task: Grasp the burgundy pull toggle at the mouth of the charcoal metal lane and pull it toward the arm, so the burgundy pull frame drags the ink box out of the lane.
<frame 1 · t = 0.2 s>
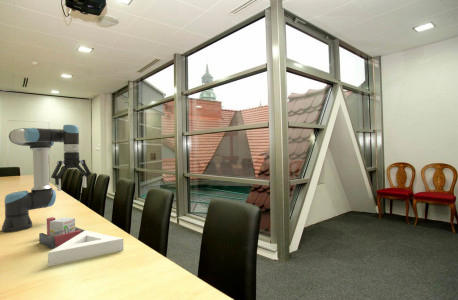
hand: (72, 189, 146), 27 cm above the table, tool pointing down, fingers open, 13 cm apart
pull frame: (58, 229, 141), point 5 cm above the table, slide at 0.1 cm, touching ink box
ink box: (63, 241, 138), resting in pull frame
lane rails: (63, 241, 138), on the table
triangle block: (86, 250, 127), on the table
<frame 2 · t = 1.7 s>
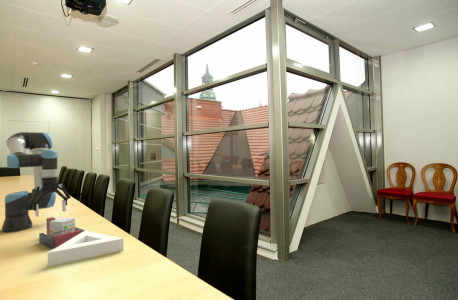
hand: (51, 213, 147), 13 cm above the table, tool pointing down, fingers open, 13 cm apart
nothing on the table moved.
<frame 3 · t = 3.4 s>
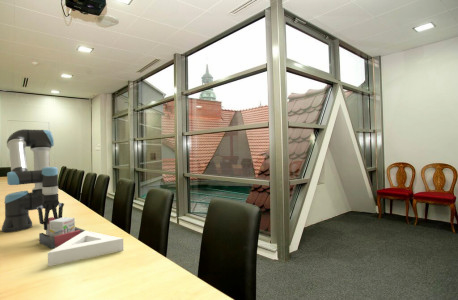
hand: (51, 234, 147), 1 cm above the table, tool pointing down, fingers closed on pull frame, 3 cm apart
pull frame: (58, 229, 142), point 5 cm above the table, slide at 0.6 cm, touching gripper, ink box
everything else where it was.
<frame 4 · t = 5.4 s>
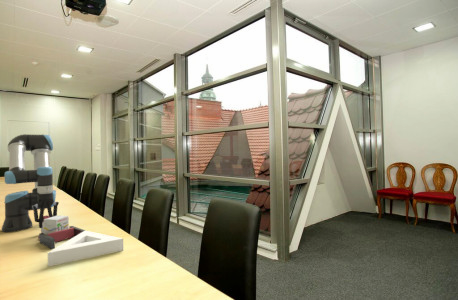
hand: (46, 232, 152), 1 cm above the table, tool pointing down, fingers closed on pull frame, 3 cm apart
pull frame: (52, 227, 146), point 5 cm above the table, slide at 8.3 cm, touching gripper, ink box
ink box: (56, 238, 143), resting in pull frame
everything else where it was.
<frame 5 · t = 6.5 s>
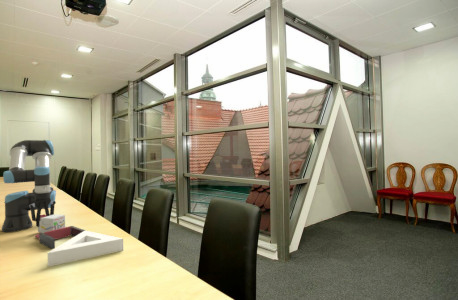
hand: (43, 230, 154), 1 cm above the table, tool pointing down, fingers closed on pull frame, 3 cm apart
pull frame: (49, 226, 149), point 5 cm above the table, slide at 12.8 cm, touching gripper, ink box
ink box: (53, 236, 146), resting in pull frame
everything else where it was.
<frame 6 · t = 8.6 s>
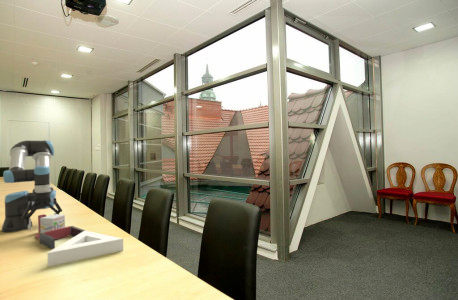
hand: (43, 226, 154), 3 cm above the table, tool pointing down, fingers open, 13 cm apart
pull frame: (49, 226, 149), point 5 cm above the table, slide at 13.1 cm, touching ink box
everything else where it was.
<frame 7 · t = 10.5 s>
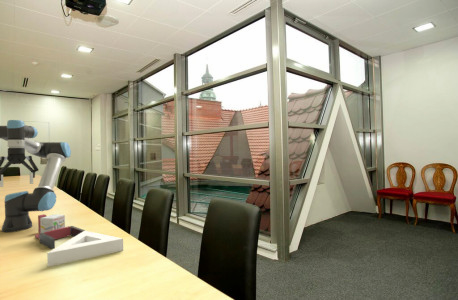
hand: (17, 185, 144), 30 cm above the table, tool pointing down, fingers open, 13 cm apart
nothing on the table moved.
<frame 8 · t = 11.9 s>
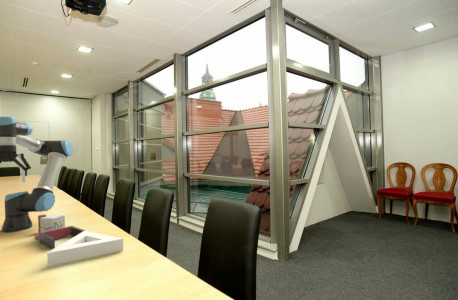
hand: (8, 183, 141), 32 cm above the table, tool pointing down, fingers open, 13 cm apart
nothing on the table moved.
at the end: pull frame slide at 13.1 cm; ink box inside the target area (0.3 cm from its centre), resting in pull frame; ink box tilted 0° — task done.
